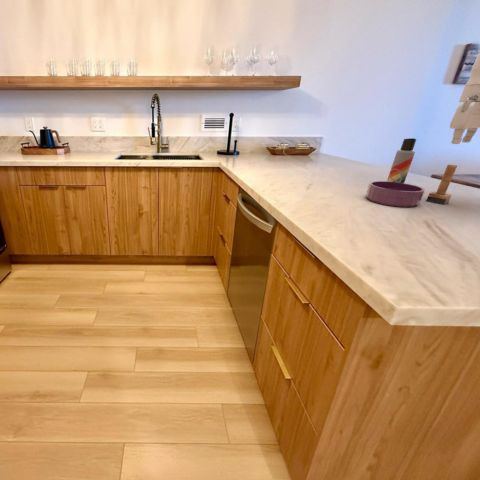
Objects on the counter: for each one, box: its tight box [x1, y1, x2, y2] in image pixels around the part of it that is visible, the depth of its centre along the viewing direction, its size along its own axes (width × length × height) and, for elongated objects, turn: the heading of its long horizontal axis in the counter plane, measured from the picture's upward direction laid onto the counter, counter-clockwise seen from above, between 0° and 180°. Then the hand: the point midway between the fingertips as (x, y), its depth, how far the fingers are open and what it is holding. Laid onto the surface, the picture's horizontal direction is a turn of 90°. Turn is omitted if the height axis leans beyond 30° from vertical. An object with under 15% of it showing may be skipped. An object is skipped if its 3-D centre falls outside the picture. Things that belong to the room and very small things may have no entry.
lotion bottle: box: [386, 137, 417, 183], centre depth 115 cm, size 6×6×20 cm
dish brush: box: [425, 164, 458, 206], centre depth 100 cm, size 5×4×13 cm
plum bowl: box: [365, 180, 425, 208], centre depth 102 cm, size 15×15×6 cm
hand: (460, 143), depth 94 cm, fingers open, 8 cm apart
